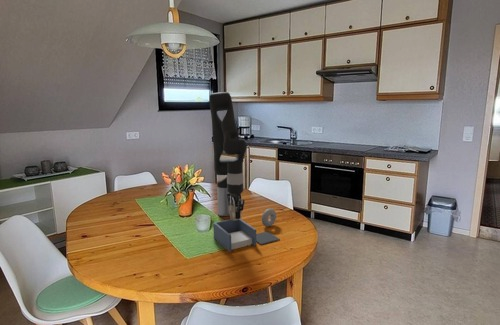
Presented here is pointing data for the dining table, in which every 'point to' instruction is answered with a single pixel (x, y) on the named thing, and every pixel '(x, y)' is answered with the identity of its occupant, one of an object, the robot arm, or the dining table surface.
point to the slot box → (234, 234)
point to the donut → (266, 215)
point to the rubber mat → (265, 238)
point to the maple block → (233, 212)
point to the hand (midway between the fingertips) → (235, 217)
